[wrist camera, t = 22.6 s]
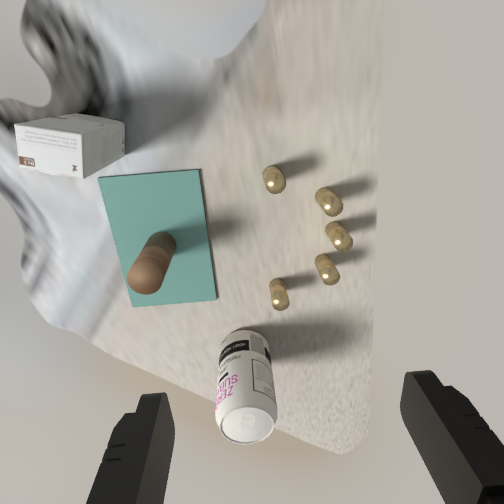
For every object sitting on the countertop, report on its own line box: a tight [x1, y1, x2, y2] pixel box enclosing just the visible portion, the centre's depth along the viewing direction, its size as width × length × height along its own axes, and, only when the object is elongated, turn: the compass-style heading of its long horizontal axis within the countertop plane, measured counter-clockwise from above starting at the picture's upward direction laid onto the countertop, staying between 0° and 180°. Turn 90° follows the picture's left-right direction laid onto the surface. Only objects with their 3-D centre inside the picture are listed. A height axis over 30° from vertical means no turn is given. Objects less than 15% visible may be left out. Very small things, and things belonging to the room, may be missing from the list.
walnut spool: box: [127, 232, 176, 295], centre depth 43 cm, size 4×4×10 cm
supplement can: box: [216, 330, 277, 444], centre depth 50 cm, size 8×8×15 cm
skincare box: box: [14, 114, 125, 179], centre depth 36 cm, size 6×4×12 cm
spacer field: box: [263, 166, 353, 311], centre depth 46 cm, size 19×11×5 cm, turn 4°
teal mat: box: [97, 169, 217, 307], centre depth 47 cm, size 20×13×1 cm, turn 4°
